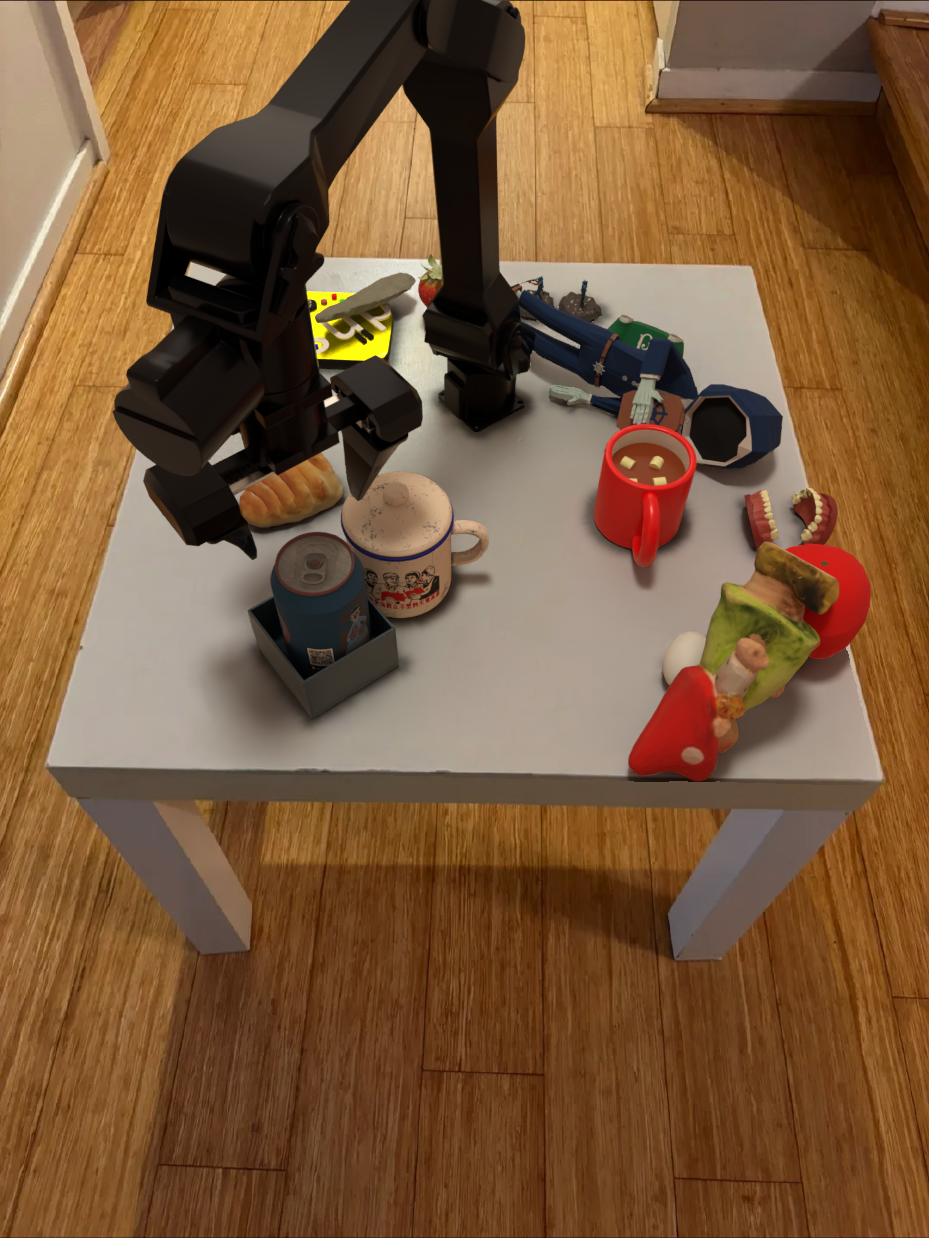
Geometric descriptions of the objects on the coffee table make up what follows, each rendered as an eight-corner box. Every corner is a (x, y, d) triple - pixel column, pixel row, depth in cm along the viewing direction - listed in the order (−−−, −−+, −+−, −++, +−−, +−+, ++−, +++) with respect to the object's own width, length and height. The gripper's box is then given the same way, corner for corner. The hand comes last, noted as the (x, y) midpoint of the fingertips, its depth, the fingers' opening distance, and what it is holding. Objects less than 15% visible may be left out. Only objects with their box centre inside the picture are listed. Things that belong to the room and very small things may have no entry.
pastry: (264, 548, 88) (257, 520, 84) (225, 504, 91) (217, 475, 88) (351, 499, 91) (347, 470, 88) (310, 458, 94) (305, 429, 91)
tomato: (814, 619, 72) (806, 697, 78) (910, 558, 75) (896, 638, 81) (724, 562, 78) (722, 638, 84) (815, 508, 82) (809, 585, 87)
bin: (343, 599, 84) (336, 560, 80) (398, 665, 81) (395, 628, 76) (258, 648, 82) (246, 610, 77) (311, 719, 78) (303, 683, 73)
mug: (599, 586, 85) (611, 527, 79) (591, 483, 92) (601, 422, 86) (690, 587, 85) (709, 529, 79) (674, 484, 92) (691, 423, 86)
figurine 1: (473, 275, 89) (761, 434, 80) (550, 226, 96) (824, 368, 87) (459, 378, 98) (716, 531, 89) (530, 326, 105) (776, 464, 96)
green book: (671, 399, 102) (696, 344, 100) (664, 394, 98) (690, 337, 97) (592, 367, 104) (616, 313, 103) (583, 361, 101) (607, 305, 99)
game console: (214, 365, 101) (211, 354, 100) (231, 297, 107) (229, 286, 106) (388, 369, 101) (388, 358, 100) (395, 301, 107) (395, 289, 106)
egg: (715, 653, 82) (726, 627, 78) (695, 711, 78) (706, 686, 75) (671, 638, 82) (679, 611, 79) (650, 694, 79) (658, 669, 76)
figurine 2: (872, 601, 73) (723, 817, 77) (775, 546, 78) (639, 752, 81) (841, 574, 64) (673, 820, 68) (733, 513, 68) (581, 746, 72)
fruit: (425, 305, 107) (423, 240, 100) (473, 311, 106) (474, 246, 100) (414, 335, 104) (411, 270, 97) (463, 342, 103) (464, 277, 97)
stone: (425, 297, 105) (399, 284, 108) (422, 279, 104) (397, 266, 107) (322, 335, 100) (299, 320, 103) (319, 316, 99) (295, 302, 102)
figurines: (603, 295, 108) (609, 265, 104) (601, 328, 106) (607, 298, 102) (512, 287, 108) (515, 256, 104) (509, 319, 106) (512, 289, 102)
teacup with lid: (348, 624, 83) (334, 536, 73) (351, 541, 88) (338, 448, 79) (489, 619, 83) (494, 531, 74) (484, 537, 89) (487, 445, 79)
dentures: (744, 474, 87) (833, 476, 88) (732, 504, 91) (818, 505, 91) (754, 524, 84) (846, 525, 85) (741, 553, 88) (829, 554, 88)
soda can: (295, 615, 83) (273, 523, 73) (376, 618, 83) (366, 526, 73) (283, 685, 79) (259, 598, 69) (369, 688, 79) (357, 601, 69)
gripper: (327, 241, 67) (349, 410, 80) (72, 354, 60) (141, 518, 73) (423, 327, 62) (430, 492, 75) (156, 460, 55) (215, 615, 68)
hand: (304, 525), depth 73 cm, fingers open, 9 cm apart
